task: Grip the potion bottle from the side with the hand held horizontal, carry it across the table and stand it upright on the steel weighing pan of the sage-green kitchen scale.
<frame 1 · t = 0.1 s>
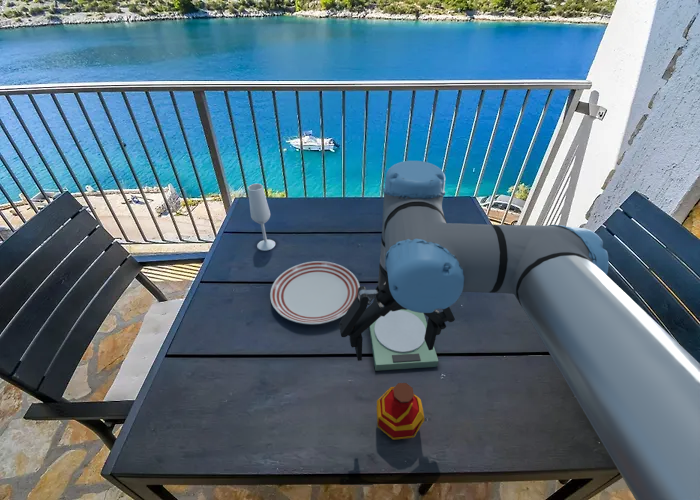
hand: (393, 349, 66), 24 cm above the table, tool pointing down, fingers open, 13 cm apart
champagne flute: (266, 245, 129), on the table
dinner plate: (316, 296, 109), on the table
kitchen scale: (399, 339, 96), on the table
potion bottle: (397, 427, 78), on the table
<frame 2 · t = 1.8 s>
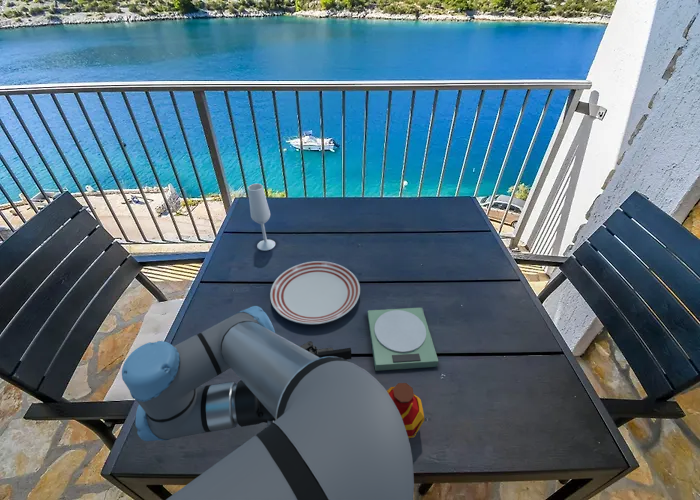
hand: (357, 384, 64), 20 cm above the table, tool horizontal, fingers open, 13 cm apart
nothing on the table moved.
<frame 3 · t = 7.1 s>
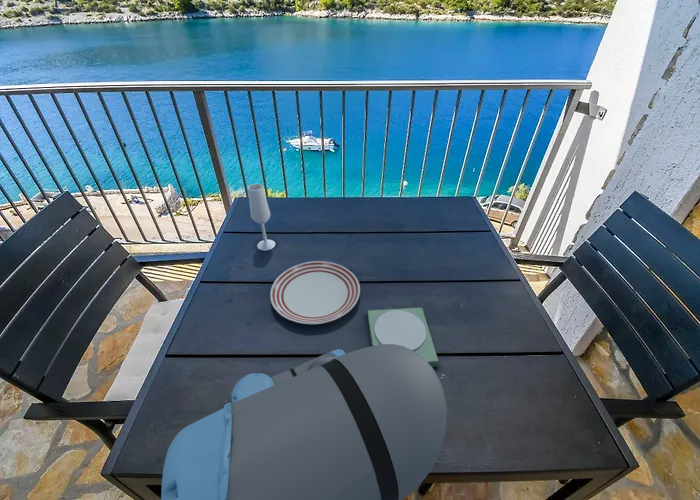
hand: (421, 404, 73), 9 cm above the table, tool horizontal, fingers closed on potion bottle, 9 cm apart
potion bottle: (397, 427, 78), on the table, touching gripper
everything else where it was.
when the fingers open (12 cm above the table, at t = 14.6 s): potion bottle stays where it is, resting on kitchen scale.
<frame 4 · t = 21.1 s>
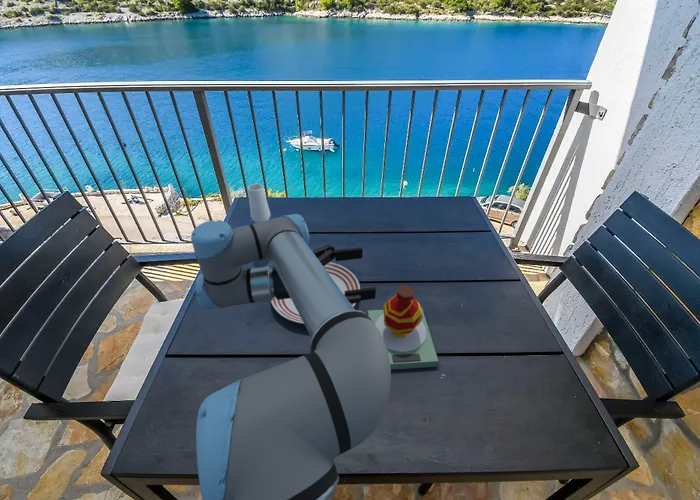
hand: (368, 271, 79), 26 cm above the table, tool horizontal, fingers open, 13 cm apart
potion bottle: (400, 330, 95), point 3 cm above the table, touching kitchen scale
everything else where it was.
at the end: potion bottle inside the target area on the kitchen scale (0.0 cm from its centre), point 2.9 cm above the kitchen scale's base; potion bottle tilted 0°; the gripper is holding nothing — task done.
